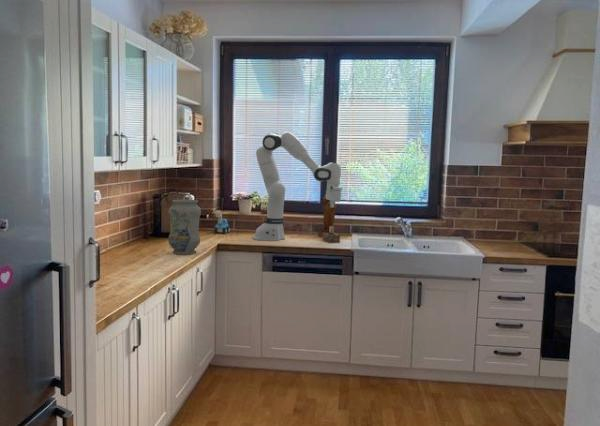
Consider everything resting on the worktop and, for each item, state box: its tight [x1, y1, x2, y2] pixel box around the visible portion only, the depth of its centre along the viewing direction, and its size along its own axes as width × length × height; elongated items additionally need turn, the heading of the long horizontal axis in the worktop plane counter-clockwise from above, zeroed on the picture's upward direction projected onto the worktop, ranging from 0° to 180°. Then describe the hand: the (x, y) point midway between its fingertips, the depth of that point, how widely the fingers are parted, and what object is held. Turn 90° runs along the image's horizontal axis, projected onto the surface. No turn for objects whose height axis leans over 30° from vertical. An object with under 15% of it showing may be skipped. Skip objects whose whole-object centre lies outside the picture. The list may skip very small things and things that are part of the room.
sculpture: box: [317, 194, 338, 238], centre depth 355 cm, size 13×9×30 cm
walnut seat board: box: [321, 232, 341, 243], centre depth 337 cm, size 9×10×5 cm
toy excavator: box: [214, 209, 231, 234], centre depth 356 cm, size 9×17×17 cm, turn 167°
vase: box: [167, 199, 202, 256], centre depth 279 cm, size 18×18×30 cm
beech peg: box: [329, 225, 335, 234], centre depth 337 cm, size 3×3×10 cm
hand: (332, 207), depth 335 cm, fingers closed
